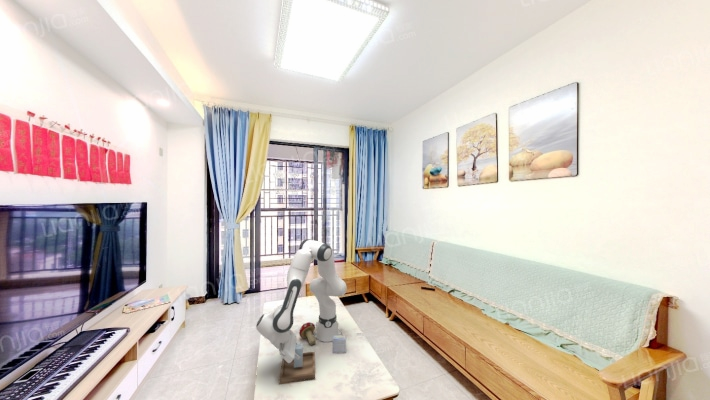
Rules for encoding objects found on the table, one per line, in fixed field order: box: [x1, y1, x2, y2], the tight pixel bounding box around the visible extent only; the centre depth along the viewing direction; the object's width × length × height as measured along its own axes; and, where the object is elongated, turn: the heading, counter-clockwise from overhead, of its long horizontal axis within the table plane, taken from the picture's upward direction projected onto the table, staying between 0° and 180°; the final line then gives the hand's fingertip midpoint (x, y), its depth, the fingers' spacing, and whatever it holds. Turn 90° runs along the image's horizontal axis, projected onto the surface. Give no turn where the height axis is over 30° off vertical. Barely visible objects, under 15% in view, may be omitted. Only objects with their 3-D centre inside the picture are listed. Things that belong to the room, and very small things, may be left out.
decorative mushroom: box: [298, 322, 317, 346], centre depth 154 cm, size 11×11×15 cm
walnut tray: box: [278, 351, 316, 385], centre depth 128 cm, size 18×18×3 cm
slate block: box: [294, 342, 304, 368], centre depth 128 cm, size 4×4×10 cm
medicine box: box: [332, 334, 347, 354], centre depth 144 cm, size 8×4×9 cm, turn 92°
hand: (299, 354), depth 128 cm, fingers closed on slate block, 4 cm apart
